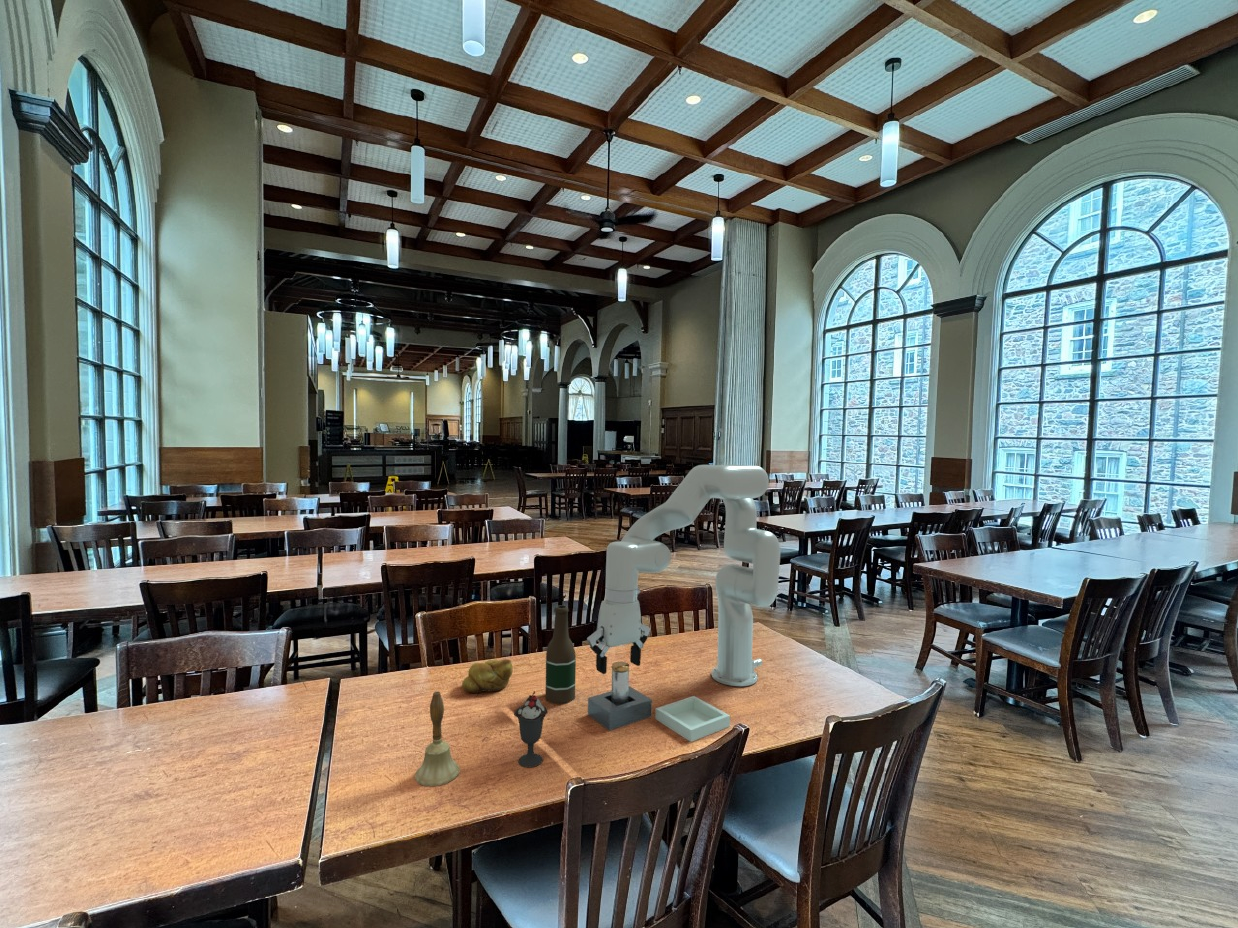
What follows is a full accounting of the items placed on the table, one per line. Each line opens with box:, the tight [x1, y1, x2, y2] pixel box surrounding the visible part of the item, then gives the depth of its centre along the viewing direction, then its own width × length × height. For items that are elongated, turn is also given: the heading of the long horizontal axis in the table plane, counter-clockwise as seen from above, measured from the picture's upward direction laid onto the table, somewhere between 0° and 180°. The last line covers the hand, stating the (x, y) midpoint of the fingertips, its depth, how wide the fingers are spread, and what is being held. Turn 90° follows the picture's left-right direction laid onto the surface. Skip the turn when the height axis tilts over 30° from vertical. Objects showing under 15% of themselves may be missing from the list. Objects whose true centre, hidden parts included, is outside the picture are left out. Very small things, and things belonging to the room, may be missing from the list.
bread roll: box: [461, 658, 513, 694], centre depth 146 cm, size 13×10×8 cm
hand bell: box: [414, 691, 461, 787], centre depth 107 cm, size 8×8×16 cm
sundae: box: [513, 690, 549, 768], centre depth 112 cm, size 7×7×15 cm
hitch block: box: [587, 685, 653, 732], centre depth 130 cm, size 12×9×5 cm
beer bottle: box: [545, 604, 577, 705], centre depth 139 cm, size 8×8×24 cm
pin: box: [611, 661, 630, 706], centre depth 130 cm, size 4×4×12 cm
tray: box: [655, 695, 731, 743], centre depth 127 cm, size 12×12×4 cm
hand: (618, 667), depth 129 cm, fingers open, 9 cm apart
